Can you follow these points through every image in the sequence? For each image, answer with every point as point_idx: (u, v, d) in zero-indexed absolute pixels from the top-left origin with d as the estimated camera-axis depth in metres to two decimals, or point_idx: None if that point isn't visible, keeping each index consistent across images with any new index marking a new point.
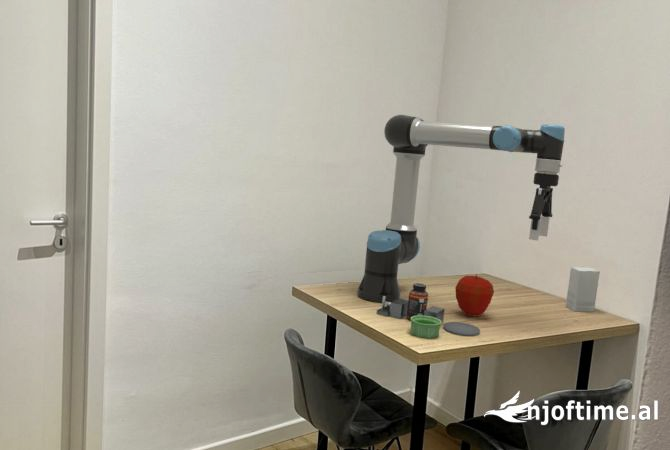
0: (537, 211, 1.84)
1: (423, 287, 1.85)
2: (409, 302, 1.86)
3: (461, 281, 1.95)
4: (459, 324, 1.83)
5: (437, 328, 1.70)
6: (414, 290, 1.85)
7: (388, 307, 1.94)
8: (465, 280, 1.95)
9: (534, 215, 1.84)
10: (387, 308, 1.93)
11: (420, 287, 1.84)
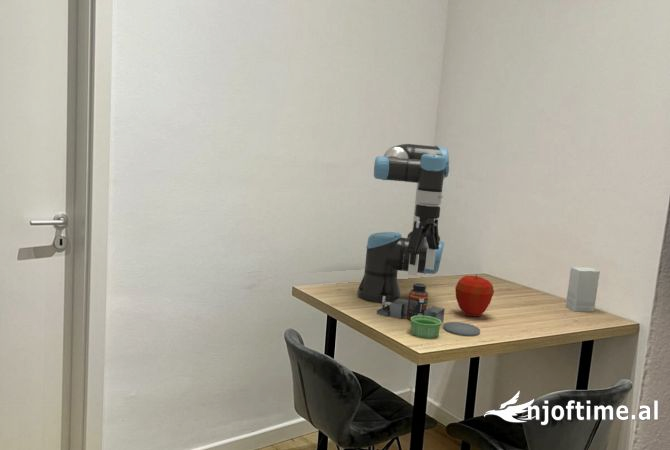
0: (413, 245, 1.76)
1: (423, 287, 1.85)
2: (409, 302, 1.86)
3: (461, 281, 1.95)
4: (459, 324, 1.83)
5: (437, 328, 1.70)
6: (414, 290, 1.85)
7: (388, 307, 1.94)
8: (464, 280, 1.95)
9: (410, 250, 1.76)
10: (387, 308, 1.93)
11: (420, 287, 1.84)
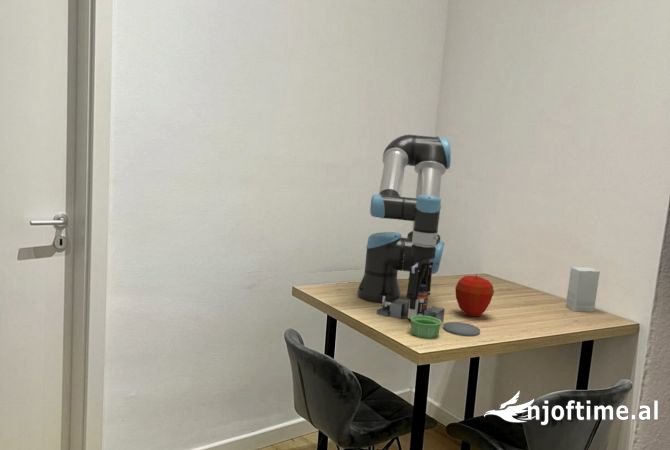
0: (412, 292, 1.80)
1: (423, 287, 1.84)
2: None
3: (461, 281, 1.95)
4: (459, 324, 1.83)
5: (437, 328, 1.70)
6: None
7: (388, 307, 1.94)
8: (464, 280, 1.95)
9: (410, 295, 1.81)
10: (387, 308, 1.93)
11: (420, 287, 1.84)
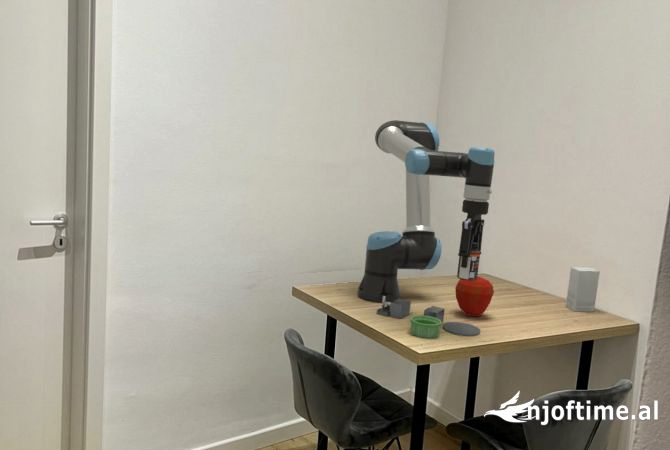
0: (465, 249, 1.71)
1: (475, 244, 1.75)
2: (460, 261, 1.76)
3: (461, 281, 1.95)
4: (459, 324, 1.83)
5: (437, 328, 1.70)
6: None
7: (388, 307, 1.94)
8: (464, 280, 1.95)
9: (462, 252, 1.71)
10: (387, 308, 1.93)
11: (472, 244, 1.74)
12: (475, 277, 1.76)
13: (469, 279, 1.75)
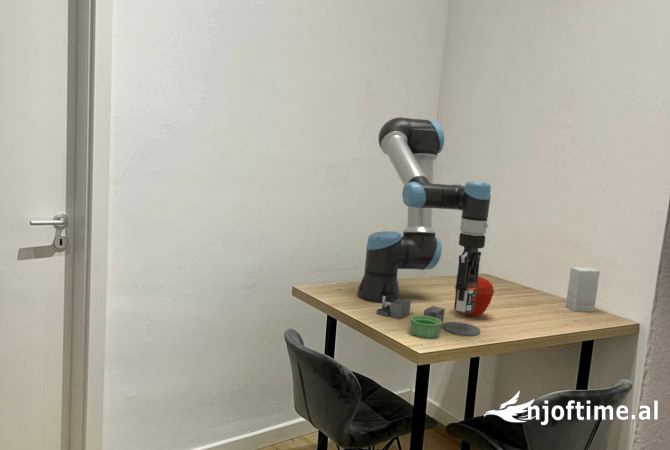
0: (462, 282, 1.72)
1: (472, 277, 1.76)
2: (457, 293, 1.77)
3: None
4: (459, 324, 1.83)
5: (437, 328, 1.70)
6: None
7: (388, 307, 1.94)
8: None
9: (459, 286, 1.72)
10: (387, 308, 1.93)
11: (469, 277, 1.76)
12: (472, 310, 1.77)
13: (466, 312, 1.76)
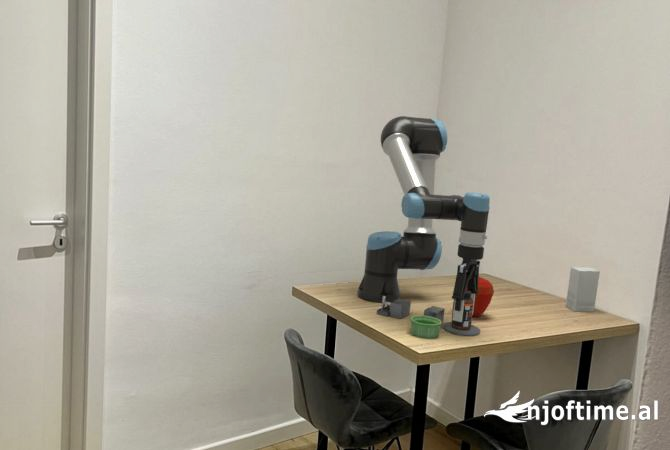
0: (459, 292, 1.71)
1: (468, 294, 1.77)
2: None
3: None
4: None
5: (437, 328, 1.70)
6: None
7: (388, 307, 1.94)
8: None
9: (456, 296, 1.71)
10: (387, 308, 1.93)
11: (465, 294, 1.77)
12: (469, 326, 1.78)
13: (463, 328, 1.77)
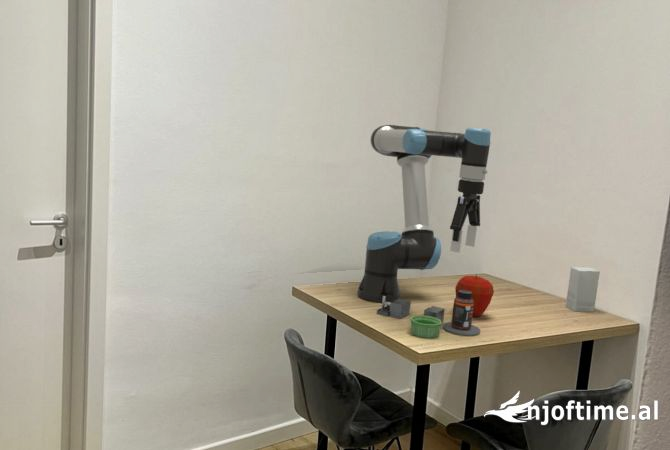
0: (457, 222, 1.71)
1: (469, 294, 1.77)
2: (454, 310, 1.78)
3: (461, 281, 1.95)
4: None
5: (437, 328, 1.70)
6: (460, 297, 1.77)
7: (388, 307, 1.94)
8: (464, 280, 1.95)
9: (454, 226, 1.71)
10: (387, 308, 1.93)
11: (466, 294, 1.77)
12: (469, 326, 1.78)
13: (463, 328, 1.77)
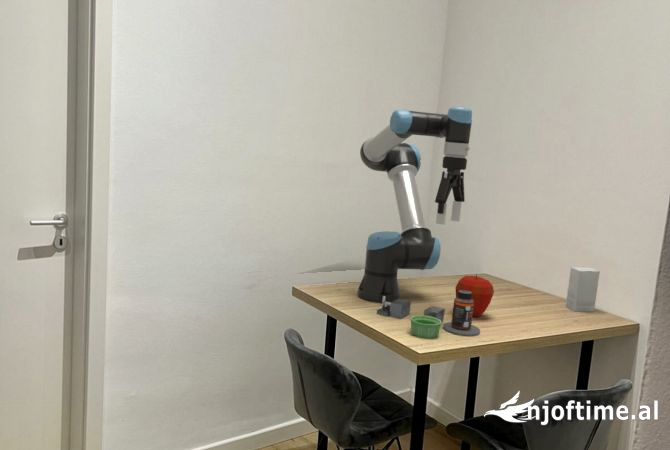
0: (442, 194, 1.82)
1: (469, 294, 1.77)
2: (454, 310, 1.78)
3: (461, 281, 1.95)
4: None
5: (437, 328, 1.70)
6: (460, 297, 1.77)
7: (388, 307, 1.94)
8: (465, 280, 1.95)
9: (439, 199, 1.82)
10: (387, 308, 1.93)
11: (466, 294, 1.76)
12: (469, 326, 1.78)
13: (463, 328, 1.77)
